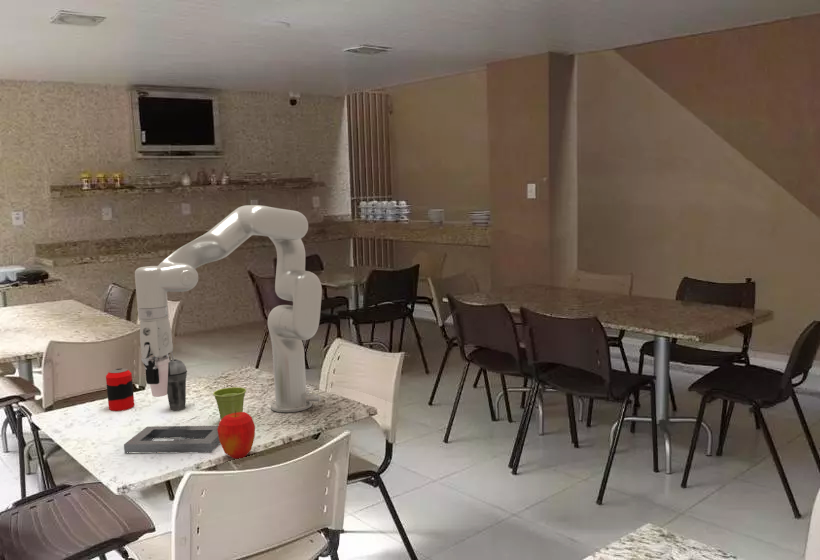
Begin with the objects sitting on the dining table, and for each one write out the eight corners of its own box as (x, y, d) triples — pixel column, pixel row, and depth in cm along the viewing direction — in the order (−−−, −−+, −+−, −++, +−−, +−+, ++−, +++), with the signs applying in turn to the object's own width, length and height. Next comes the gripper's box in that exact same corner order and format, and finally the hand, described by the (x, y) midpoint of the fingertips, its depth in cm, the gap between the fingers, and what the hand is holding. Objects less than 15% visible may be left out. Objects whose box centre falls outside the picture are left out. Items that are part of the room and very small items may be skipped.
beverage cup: (193, 405, 226) (188, 343, 224) (184, 412, 219) (179, 348, 217) (171, 405, 227) (166, 343, 225) (161, 412, 220) (156, 348, 218)
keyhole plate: (228, 433, 198) (228, 425, 198) (211, 452, 184) (210, 443, 184) (147, 434, 199) (147, 426, 199) (124, 453, 186) (123, 444, 185)
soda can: (135, 402, 231) (131, 366, 230) (133, 409, 224) (130, 372, 223) (109, 405, 229) (106, 369, 227) (107, 412, 222) (104, 374, 220)
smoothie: (165, 389, 195) (161, 339, 193) (176, 394, 190) (172, 342, 189) (142, 395, 191) (138, 343, 189) (153, 399, 186) (149, 347, 184)
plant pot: (210, 419, 211) (208, 391, 210) (240, 413, 216) (238, 385, 215) (222, 427, 203) (220, 397, 202) (253, 420, 209) (251, 391, 208)
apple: (245, 447, 187) (242, 402, 185) (263, 455, 180) (260, 409, 179) (212, 457, 181) (209, 411, 179) (230, 466, 174) (227, 418, 172)
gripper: (153, 319, 179) (158, 389, 181) (180, 307, 196) (185, 371, 198) (124, 319, 179) (130, 389, 182) (153, 308, 197) (158, 372, 199)
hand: (158, 379), depth 190 cm, fingers closed on smoothie, 6 cm apart
